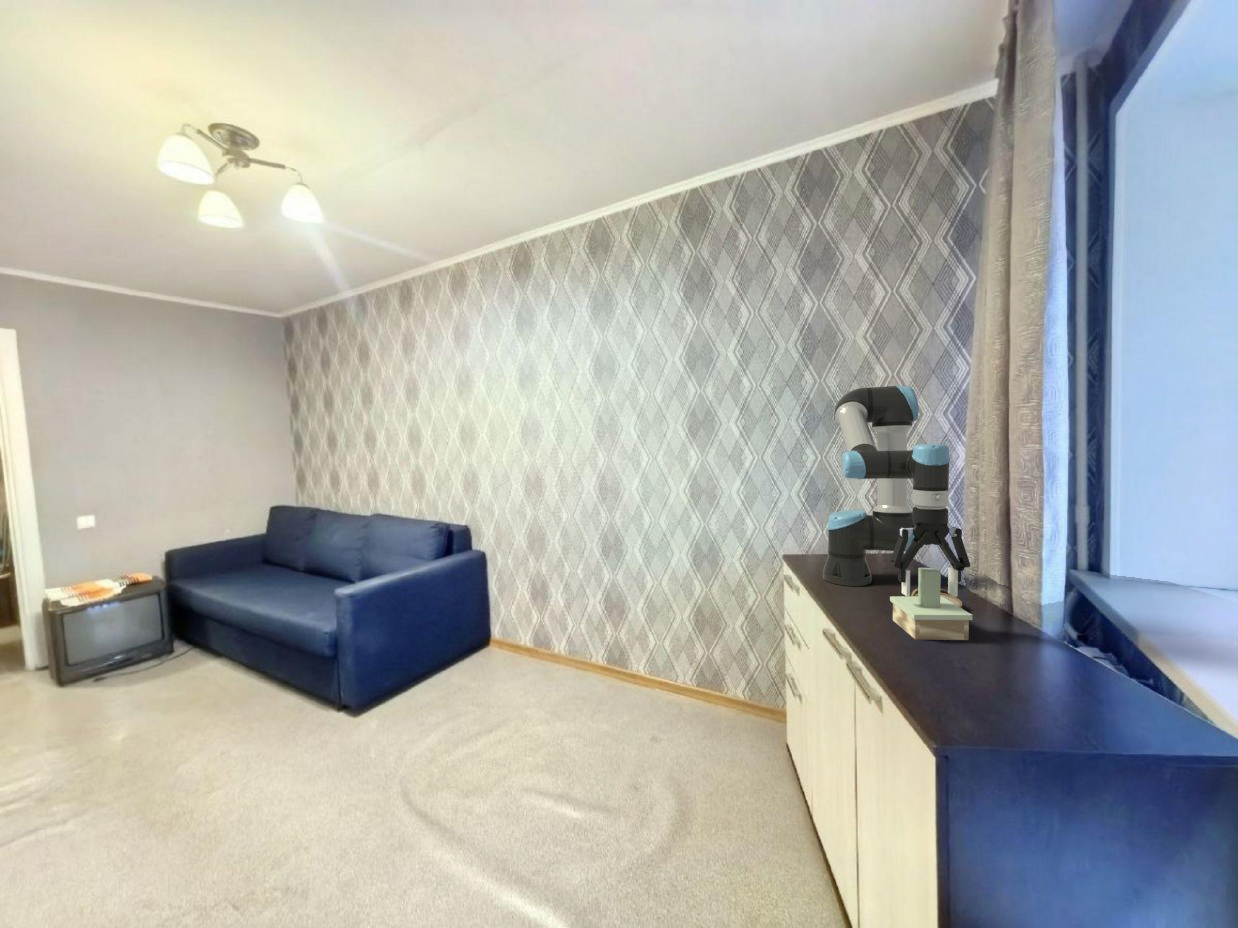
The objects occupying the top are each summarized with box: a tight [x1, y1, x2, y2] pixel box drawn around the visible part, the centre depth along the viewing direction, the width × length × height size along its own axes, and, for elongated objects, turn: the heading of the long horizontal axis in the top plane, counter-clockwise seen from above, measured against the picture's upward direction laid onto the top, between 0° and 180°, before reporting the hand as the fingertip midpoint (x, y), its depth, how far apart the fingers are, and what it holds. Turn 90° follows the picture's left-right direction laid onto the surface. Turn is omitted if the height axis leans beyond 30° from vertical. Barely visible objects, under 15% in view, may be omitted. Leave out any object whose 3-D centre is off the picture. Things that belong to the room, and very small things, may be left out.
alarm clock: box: [910, 588, 963, 609], centre depth 141 cm, size 11×5×15 cm
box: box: [892, 603, 970, 641], centre depth 125 cm, size 12×12×6 cm
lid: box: [889, 567, 973, 621], centre depth 124 cm, size 13×13×10 cm
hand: (929, 594), depth 124 cm, fingers open, 10 cm apart
